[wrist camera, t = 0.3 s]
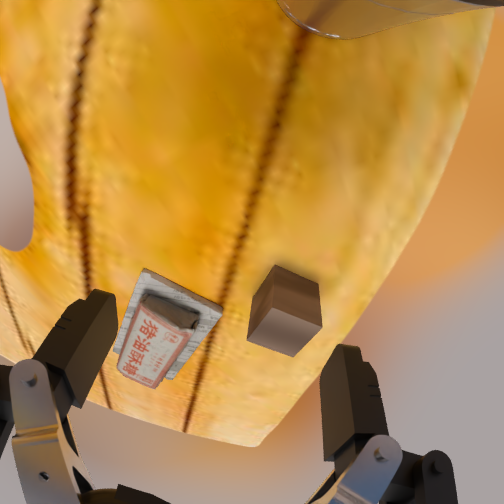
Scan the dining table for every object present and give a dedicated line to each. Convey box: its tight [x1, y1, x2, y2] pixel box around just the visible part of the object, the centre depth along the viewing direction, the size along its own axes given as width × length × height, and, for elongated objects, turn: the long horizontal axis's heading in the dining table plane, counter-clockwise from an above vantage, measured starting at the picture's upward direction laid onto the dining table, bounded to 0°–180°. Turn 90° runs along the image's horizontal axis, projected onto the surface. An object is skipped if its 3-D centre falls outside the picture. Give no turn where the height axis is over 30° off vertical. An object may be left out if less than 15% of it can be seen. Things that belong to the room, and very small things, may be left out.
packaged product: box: [113, 269, 222, 389], centre depth 37 cm, size 18×5×10 cm
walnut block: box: [247, 265, 322, 357], centre depth 30 cm, size 5×5×6 cm
